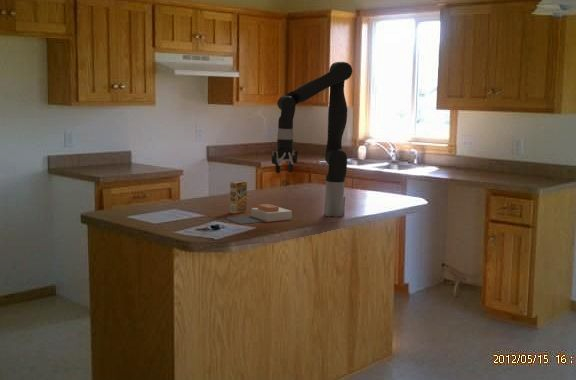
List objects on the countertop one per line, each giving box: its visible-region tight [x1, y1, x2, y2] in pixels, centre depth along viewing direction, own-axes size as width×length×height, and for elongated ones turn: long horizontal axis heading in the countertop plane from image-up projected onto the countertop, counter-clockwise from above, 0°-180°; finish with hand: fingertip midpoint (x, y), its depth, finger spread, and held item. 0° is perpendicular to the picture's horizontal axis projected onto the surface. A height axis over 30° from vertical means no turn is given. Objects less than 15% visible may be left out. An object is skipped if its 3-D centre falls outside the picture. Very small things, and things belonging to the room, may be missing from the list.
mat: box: [224, 215, 266, 225], centre depth 320 cm, size 14×14×1 cm
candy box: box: [229, 180, 248, 215], centre depth 338 cm, size 9×4×15 cm, turn 146°
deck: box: [250, 206, 293, 223], centre depth 328 cm, size 14×14×4 cm
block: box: [257, 203, 280, 212], centre depth 326 cm, size 6×9×2 cm, turn 36°
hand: (284, 172), depth 329 cm, fingers open, 6 cm apart
